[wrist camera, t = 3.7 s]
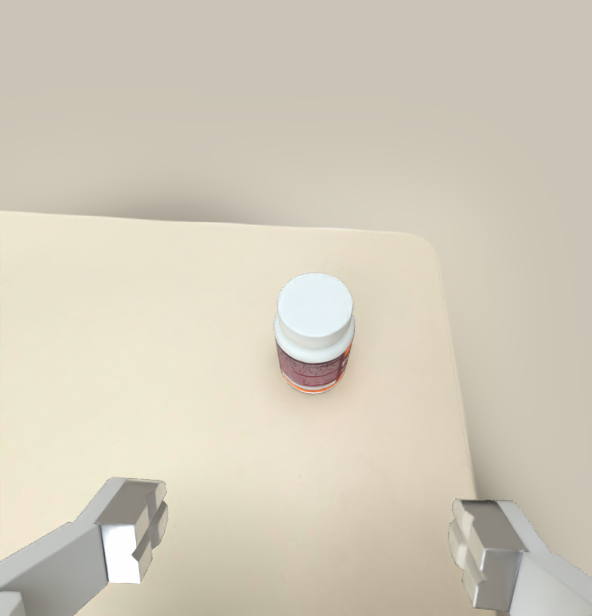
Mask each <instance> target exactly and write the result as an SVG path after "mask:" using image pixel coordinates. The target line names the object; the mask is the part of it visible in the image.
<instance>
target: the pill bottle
mask: <svg viewBox="0 0 592 616" xmlns="http://www.w3.org/2000/svg"><path fill="white" fill-rule="evenodd" d="M352 312H353V300H352V296H351V294H350V292H349V290H348V288H347V287H346V286H345V285H344V284H343V283H342V282H341V281H340V280H338V279H337V278H335V277H333V276H330V275H327V274H323V273H306V274H302V275H299V276H297V277H295V278H293V279H292V280H290V281H289V282H288V283H287V284H286V285H285V286H284V287H283V288H282V290H281V292H280V294H279V297H278V301H277V312H276V314H275V317H274V323H273V327H274V335H275V341H276V346H277V351H278V357H279V363H280V369H281V372H282V374H283V377H284V378H285V380H286V381H287V382H288V383H289V384H290V385H291V386H292V387H293V388H295V389H297V390H299V391H301V392H304V393H310V394H317V393H323V392H325V391H328V390H330V389H332V388H333V387H334V386H336V385H337V383H338V382H339V381H340V380H341V378H342V377H343V374H344V372H345V368H346V364H347V361H348V357H349V353H350V349H351V345H352V341H353V337H354V332H355V321H354V316H353V314H352Z"/></svg>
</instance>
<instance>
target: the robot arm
mask: <svg viewBox="0 0 592 616" xmlns="http://www.w3.org/2000/svg"><path fill="white" fill-rule="evenodd" d="M166 493H167V491H166V483H165V482H164V481H160V480H148V479H137V478H121V477H112V478H110V479H108V480H107V481H106V483H105V484H104V485H103V486H102V488H101V489H100V490H99V491H98V493H97V494H96V495H95V496H94V498H93V499H92V500H91V501H90V503H89V504H88V505H87V506H86V508H85V509H84V510H83V511H82V513H81V514H80V515H79V516H78V518H77V519H76V520H75V521H74V522H68V523H66V524H64V525H62V526H61V527H59V528H57V529H55V530H54V531H52V532H50V533H48V534H47V535H45V536H43V537H42V538H40V539H38V540H36V541H35V542H33V543H31V544H29V545H28V546H26V547H24V548H22V549H21V550H19V551H17V552H16V553H14V554H12V555H10V556H9V557H7V558H5V559H3V560H2V561H0V616H73V615H74V614H76V613H77V612H78V611H79V610H80V609H81V608H82V607H83V606H84V605H85V604H87V603H88V602H89V601H90V600H91V599H92V598H93V597H94V596H95V595H96V594H98V593H99V592H100V591H101V590H102V589H103V588H104V587H105V586H106V585H107V584H108V582H117V583H141V582H142V580H143V577H144V575H145V573H146V571H147V569H148V567H149V565H150V563H151V561H152V549H154V548H155V547H156V546H157V545H159V544H160V542H161V540H162V538H163V536H164V533H165V529H166V526H167V521H168V506H167V504H166V503H165V502H164V501H163V499H164V497H165V495H166ZM452 512H453V514H454V516H455V519H454V520H453V521H452V522H451V523H450V524H449V532H448V536H449V546H450V550H451V554H452V557H453V559H454V562H455V564H456V565H457V566H458V567H459V568H460V569H461V570H462V571H463V578H462V582H463V585H464V587H465V589H466V592H467V594H468V597H469V599H470V602H471V604H472V607H473V608H477V609H486V610H496V611H505V612H509V614H510V615H511V616H592V578H591V577H589V576H588V575H587V574H585V573H584V572H583V571H581V570H580V569H578V568H577V567H575V566H574V565H572V564H571V563H569V562H568V561H567V560H565V559H564V558H562V557H561V556H560V555H558V554H552V553H551V552H550V551H549V549H548V548H547V546H546V545H545V544H544V542H543V541H542V539H541V538H540V537H539V535H538V534H537V532H536V531H535V529H534V528H533V527H532V525H531V524H530V522H529V521H528V520H527V518H526V517H525V515H524V514H523V512H522V511H521V510H520V508H519V507H518V505H517V504H516V503H514V502H513V501H508V500H480V499H461V498H455V500H454V502H453V505H452Z"/></svg>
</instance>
